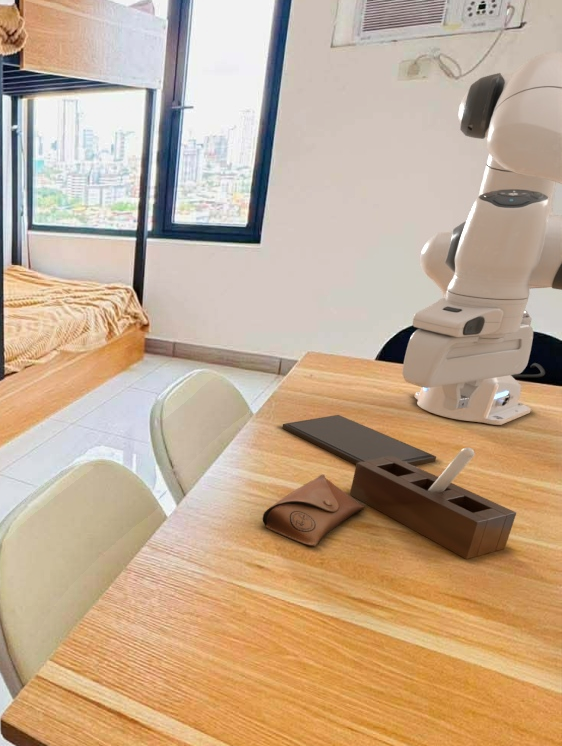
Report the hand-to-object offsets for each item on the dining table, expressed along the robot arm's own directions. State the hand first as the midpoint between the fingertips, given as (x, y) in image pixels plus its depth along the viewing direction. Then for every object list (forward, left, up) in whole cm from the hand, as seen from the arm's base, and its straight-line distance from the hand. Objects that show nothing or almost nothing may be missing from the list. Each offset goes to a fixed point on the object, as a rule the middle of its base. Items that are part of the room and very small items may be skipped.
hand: (455, 408), depth 91 cm
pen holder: (0, -1, -19) cm, 19 cm away
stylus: (0, -2, -19) cm, 19 cm away
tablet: (-14, -26, -19) cm, 35 cm away
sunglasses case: (+15, -7, -19) cm, 25 cm away
